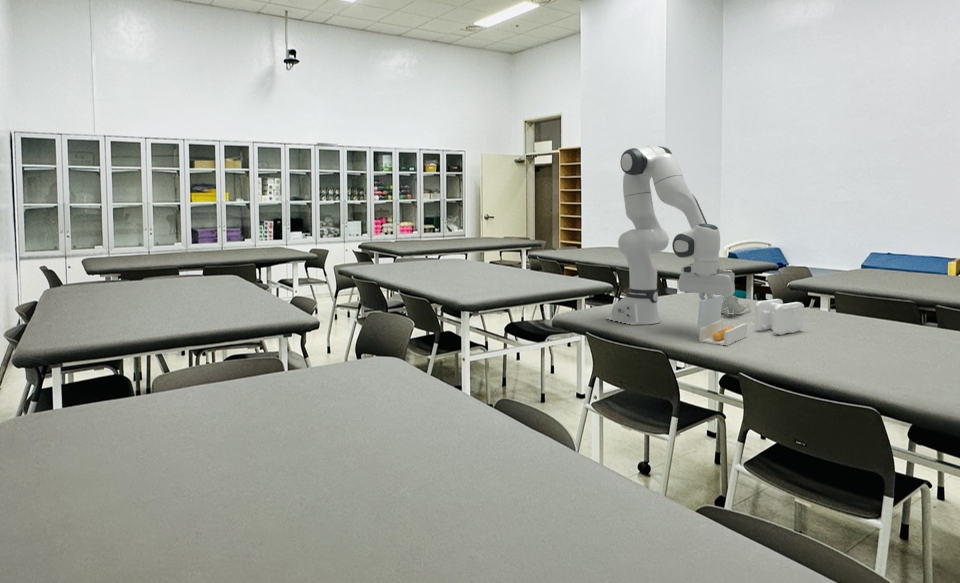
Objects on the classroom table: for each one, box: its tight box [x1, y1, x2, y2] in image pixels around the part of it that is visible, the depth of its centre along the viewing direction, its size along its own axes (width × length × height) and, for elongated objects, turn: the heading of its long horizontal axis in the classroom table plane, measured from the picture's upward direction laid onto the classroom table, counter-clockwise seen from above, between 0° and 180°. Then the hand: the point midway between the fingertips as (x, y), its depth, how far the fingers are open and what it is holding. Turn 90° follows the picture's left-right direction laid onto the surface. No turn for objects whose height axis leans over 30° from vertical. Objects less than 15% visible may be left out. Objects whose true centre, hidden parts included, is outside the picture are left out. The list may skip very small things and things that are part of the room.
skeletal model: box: [721, 294, 751, 316], centre depth 277 cm, size 16×9×25 cm
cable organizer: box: [753, 298, 805, 336], centre depth 242 cm, size 15×11×12 cm
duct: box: [698, 319, 748, 347], centre depth 232 cm, size 10×18×5 cm, turn 137°
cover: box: [697, 295, 724, 329], centre depth 235 cm, size 10×18×1 cm
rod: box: [712, 325, 735, 341], centre depth 232 cm, size 3×16×3 cm, turn 135°
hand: (705, 305), depth 236 cm, fingers closed
